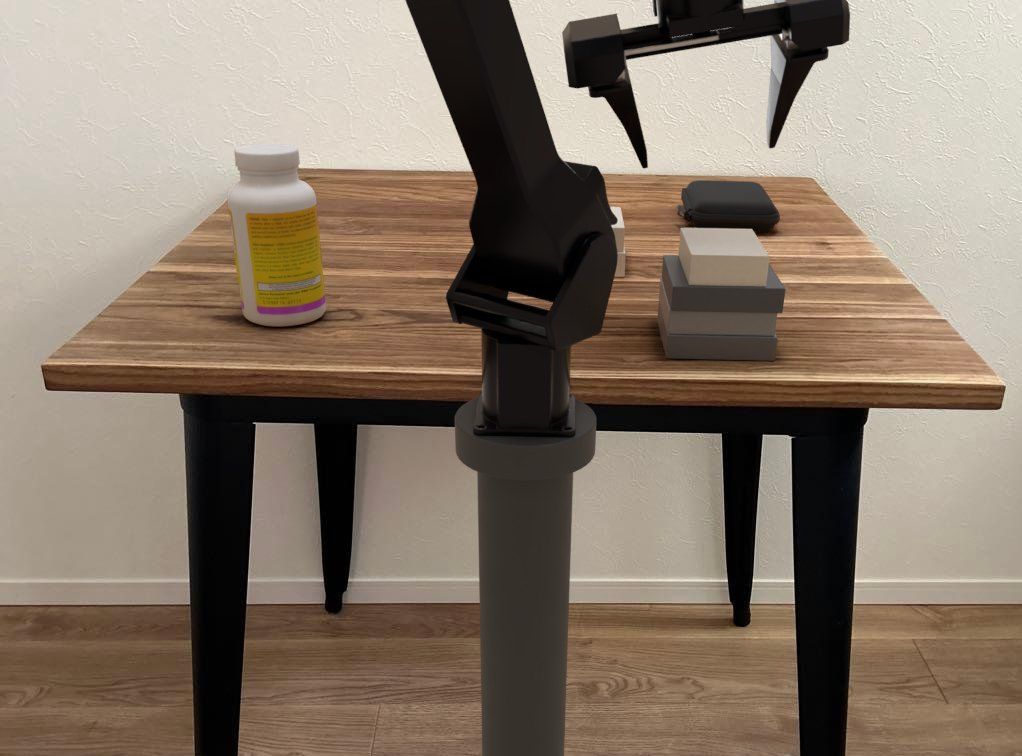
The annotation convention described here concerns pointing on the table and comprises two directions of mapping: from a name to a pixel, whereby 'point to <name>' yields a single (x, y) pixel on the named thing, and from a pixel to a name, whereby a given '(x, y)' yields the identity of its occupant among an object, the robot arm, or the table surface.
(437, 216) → the table surface
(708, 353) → the grey lidded box
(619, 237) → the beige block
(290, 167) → the supplement bottle
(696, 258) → the beige rectangular block
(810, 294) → the table surface
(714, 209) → the carrying case
